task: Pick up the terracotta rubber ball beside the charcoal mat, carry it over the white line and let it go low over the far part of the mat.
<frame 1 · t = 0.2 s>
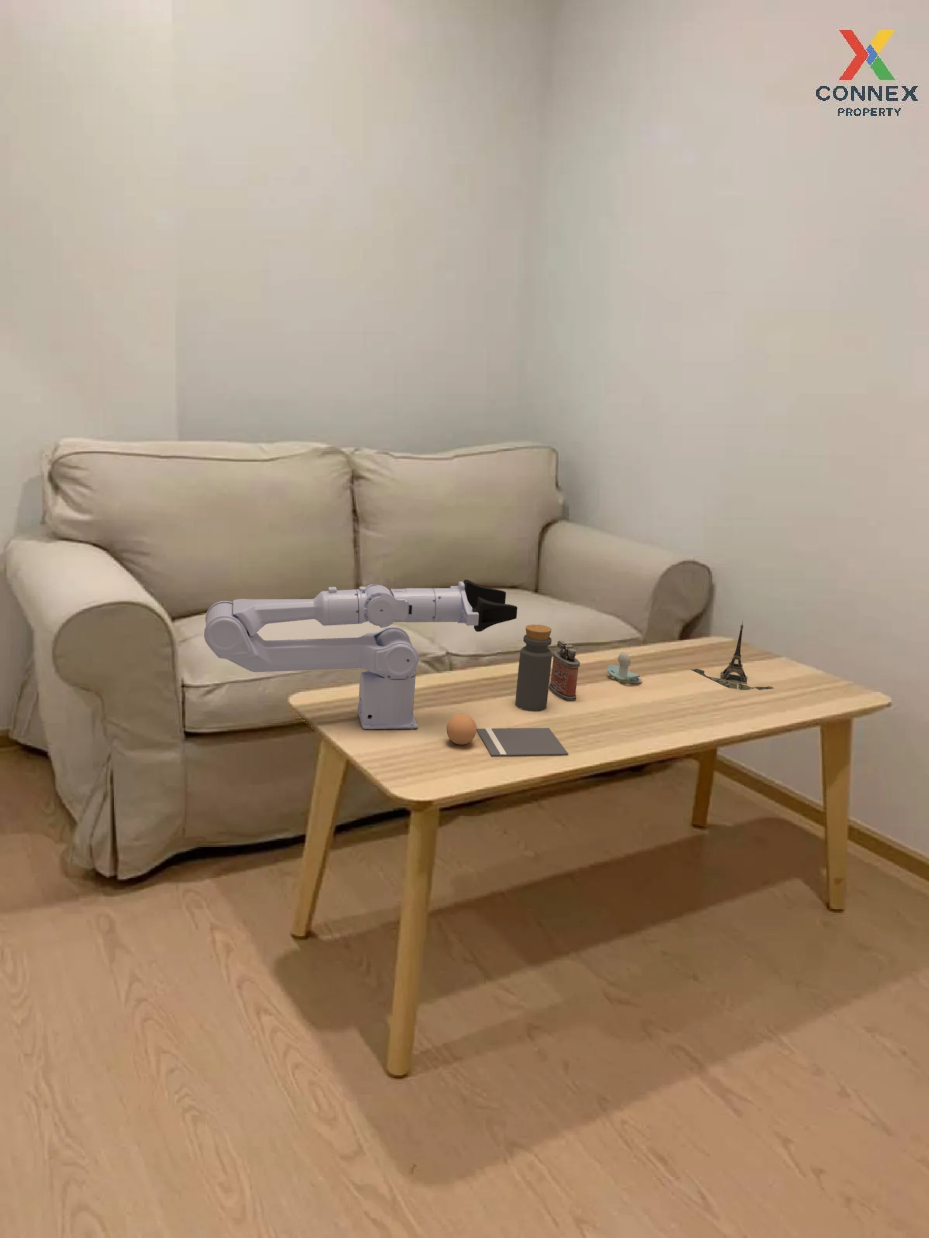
hand: (510, 604, 174), 21 cm above the table, tool horizontal, fingers open, 7 cm apart
eiffel tower figurine: (730, 681, 213), on the table
bottle: (530, 706, 188), on the table
ball: (460, 743, 168), on the table
pacifier: (625, 681, 207), on the table
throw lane: (521, 742, 171), on the table
lighter: (562, 695, 195), on the table
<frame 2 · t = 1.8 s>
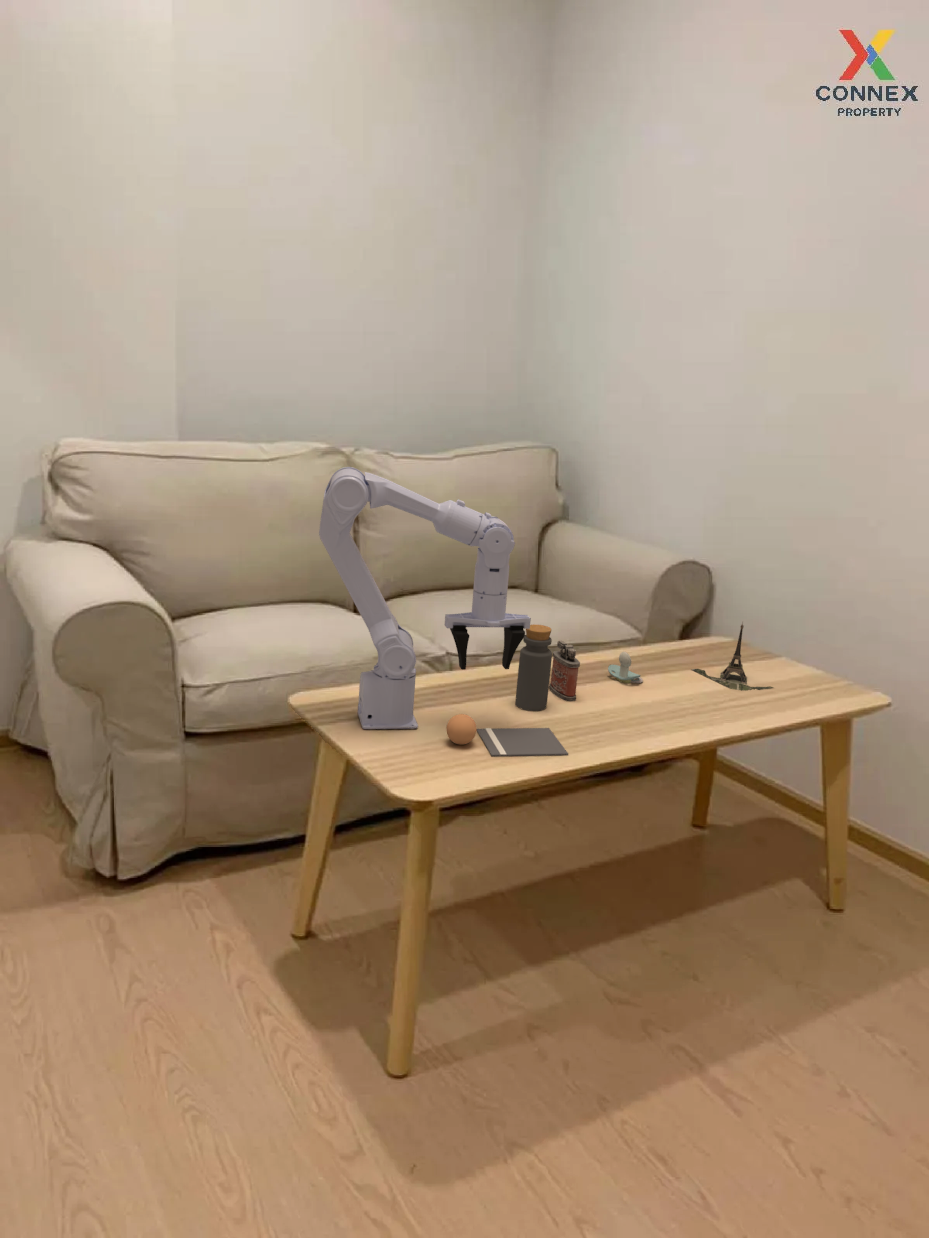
hand: (484, 667, 174), 10 cm above the table, tool pointing down, fingers open, 7 cm apart
nothing on the table moved.
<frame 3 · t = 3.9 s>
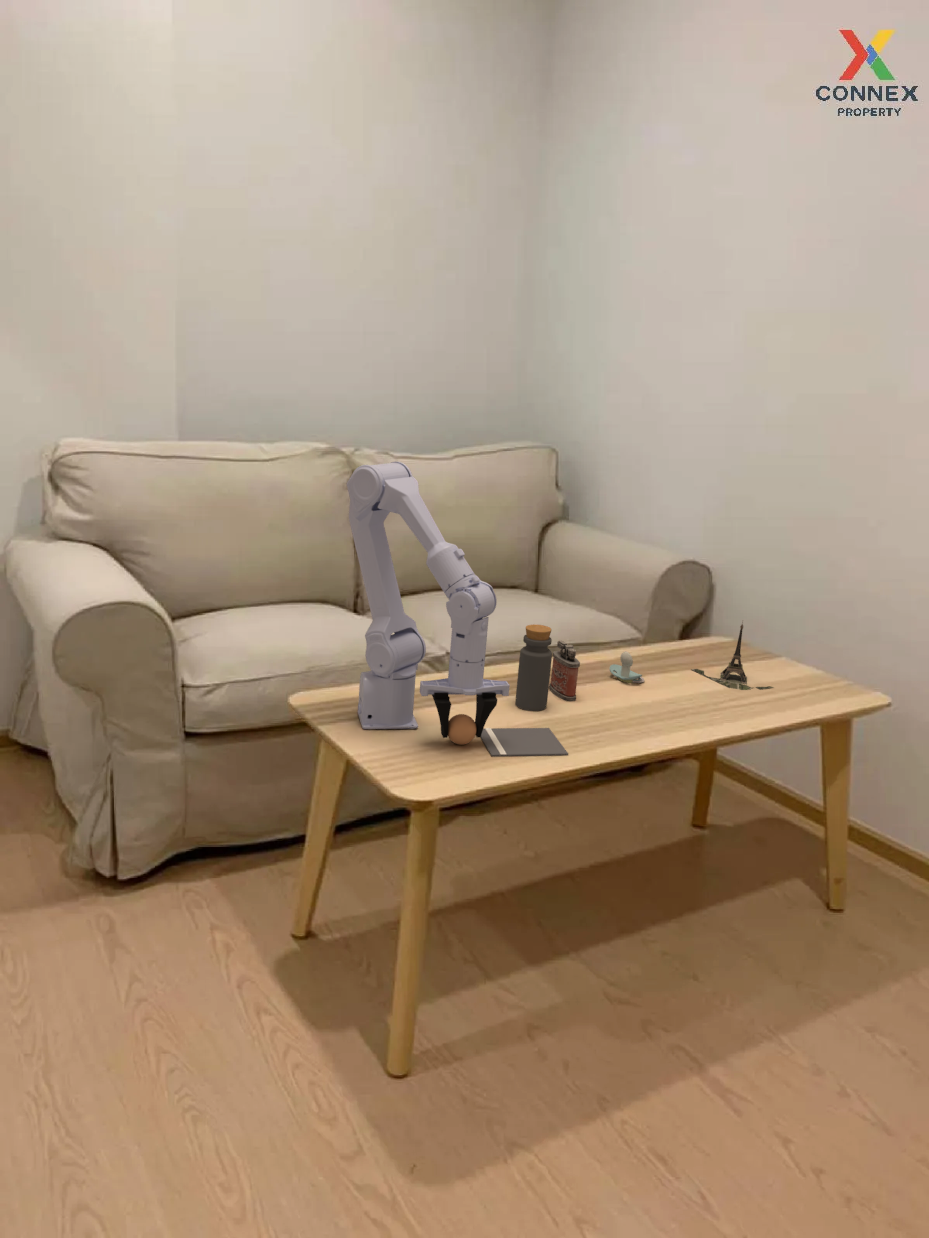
hand: (460, 735, 168), 1 cm above the table, tool pointing down, fingers closed on ball, 5 cm apart
ball: (460, 743, 168), on the table, touching gripper
everything else where it was.
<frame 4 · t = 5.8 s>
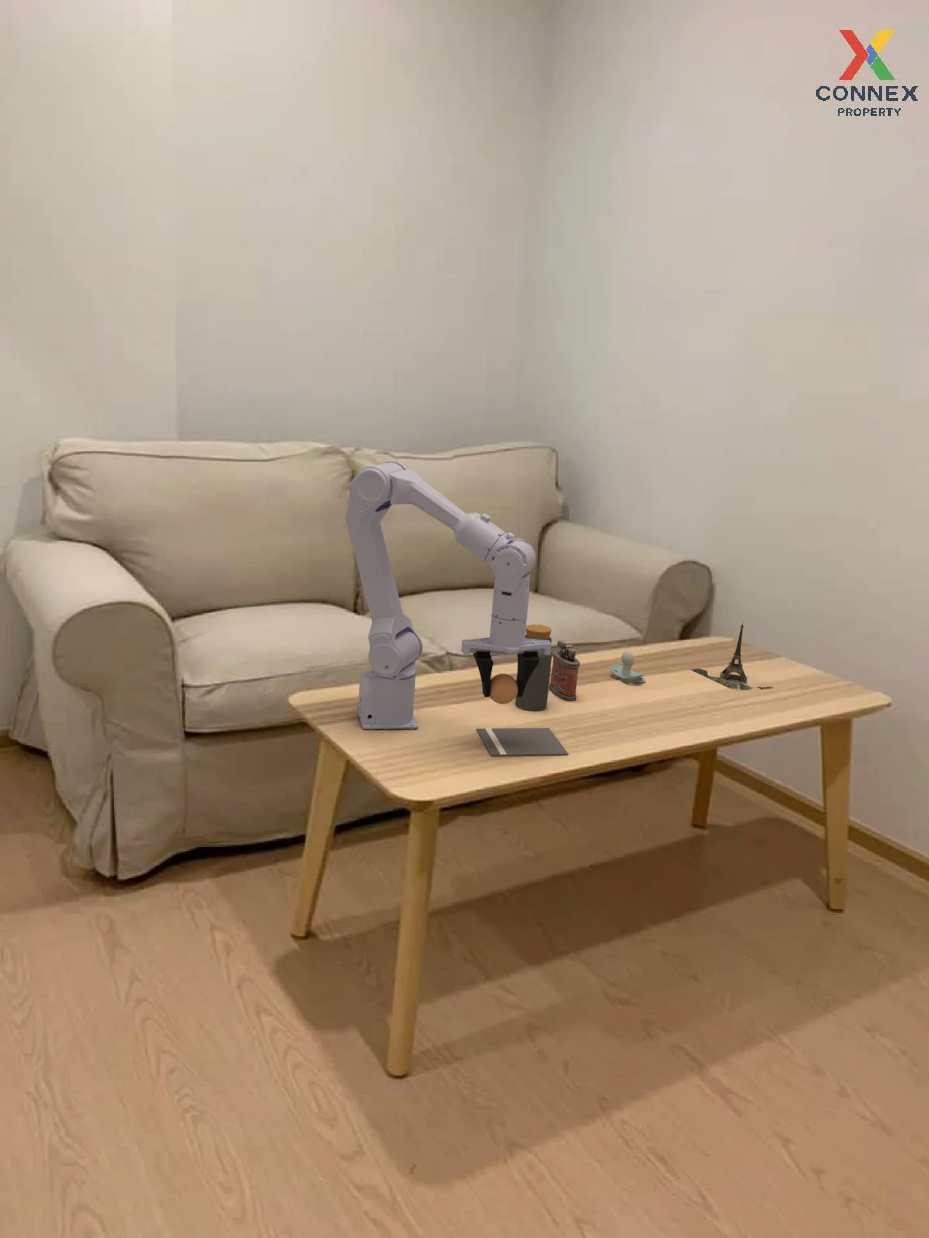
hand: (502, 695, 167), 9 cm above the table, tool pointing down, fingers closed on ball, 5 cm apart
ball: (501, 703, 168), point 7 cm above the table, touching gripper
everything else where it was.
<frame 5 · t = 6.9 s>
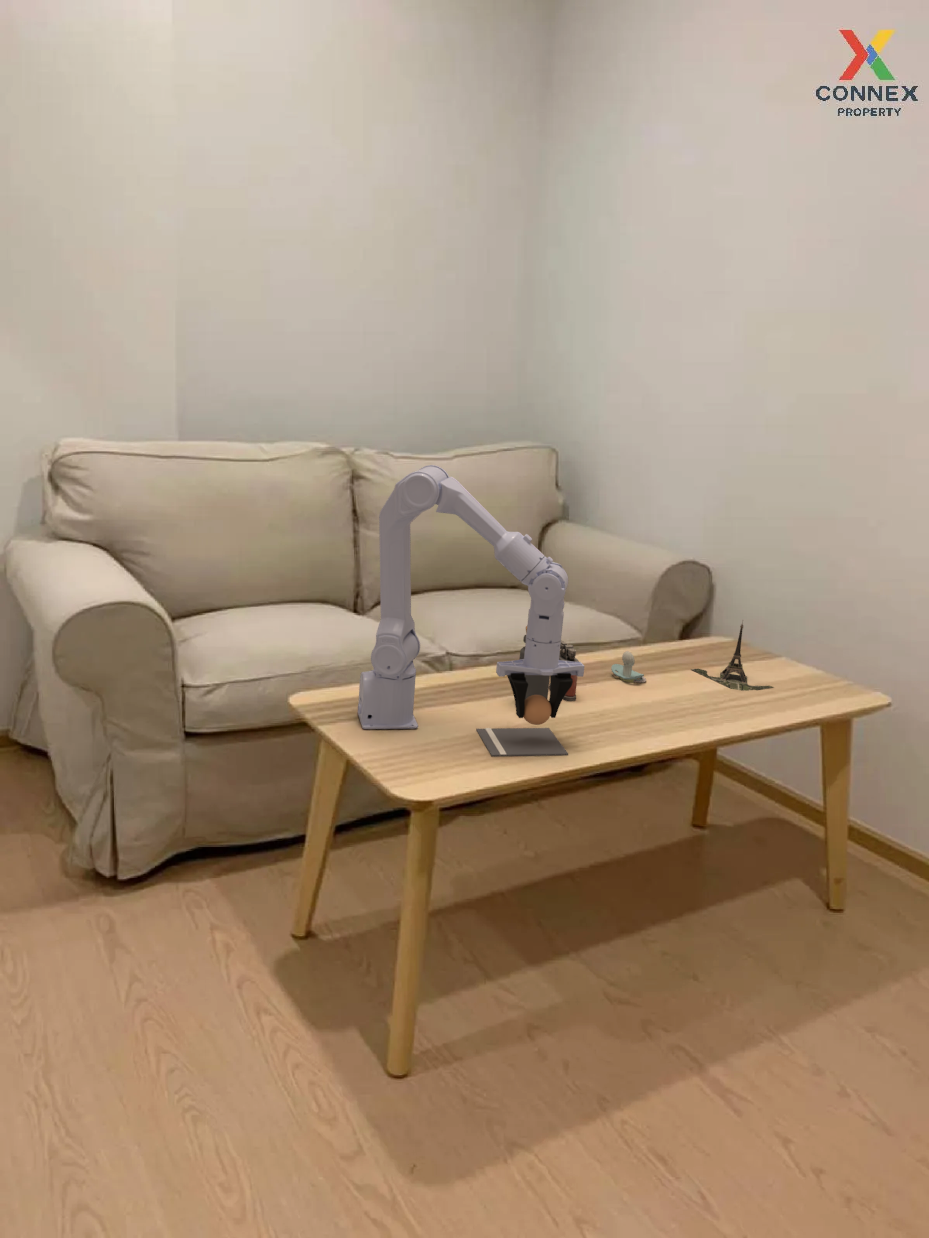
hand: (535, 715, 170), 5 cm above the table, tool pointing down, fingers closed on ball, 5 cm apart
ball: (535, 723, 170), point 3 cm above the table, touching gripper
when the fingers open (2 cm above the table, at t = 7.8 s): ball stays where it is, resting on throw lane.
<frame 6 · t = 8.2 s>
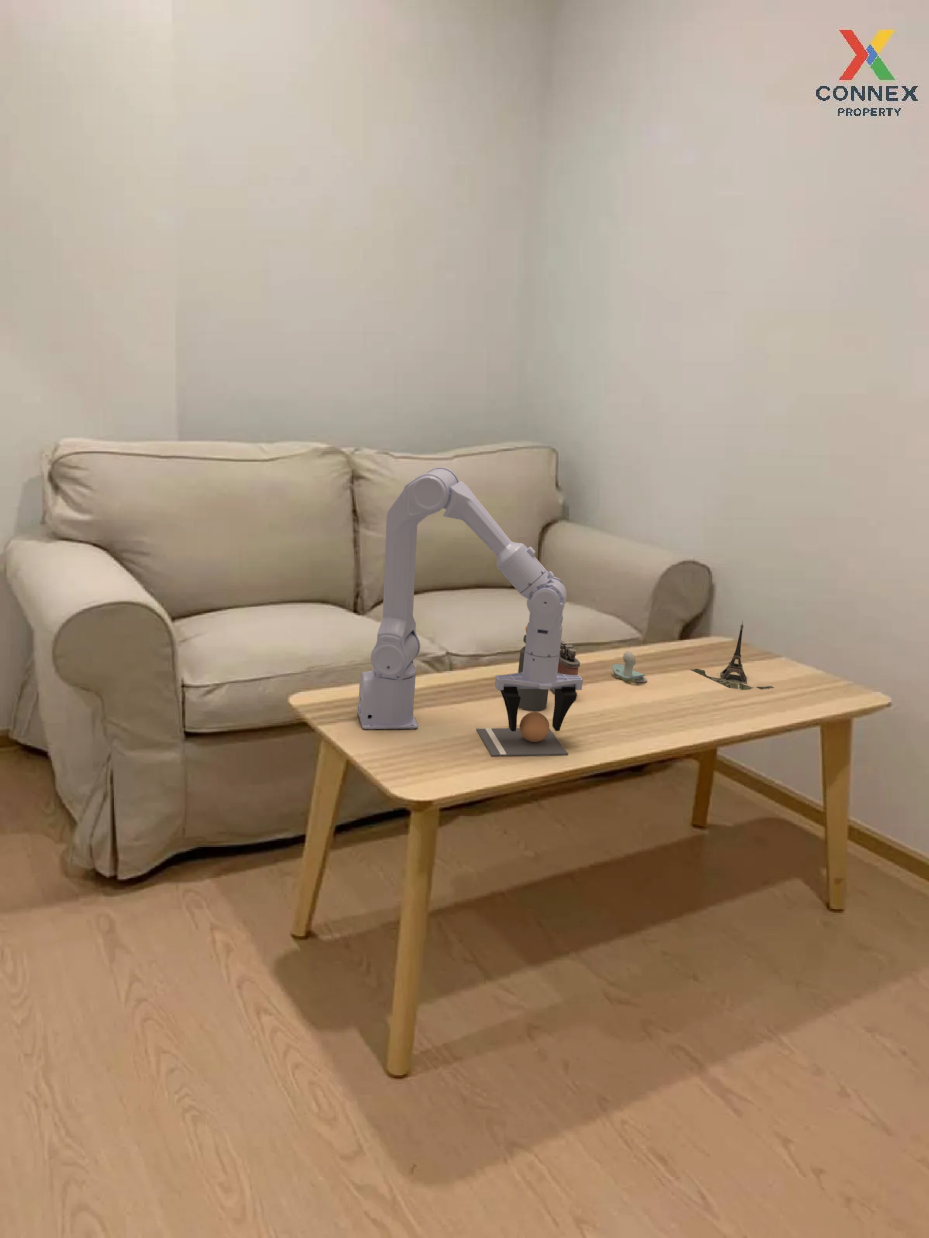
hand: (534, 728, 170), 2 cm above the table, tool pointing down, fingers open, 7 cm apart
ball: (533, 740, 171), resting on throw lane
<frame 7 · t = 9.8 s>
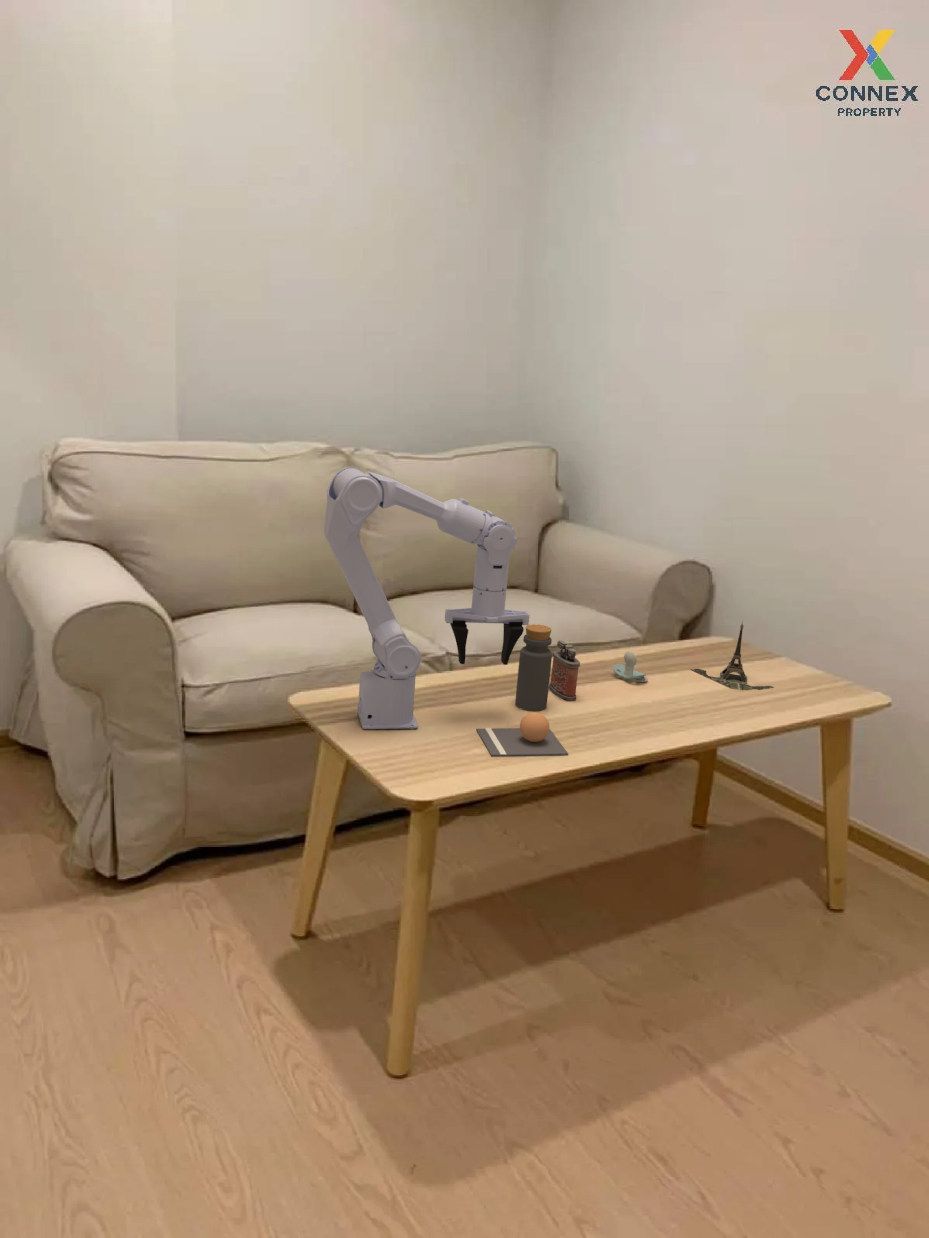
hand: (483, 662, 178), 10 cm above the table, tool pointing down, fingers open, 7 cm apart
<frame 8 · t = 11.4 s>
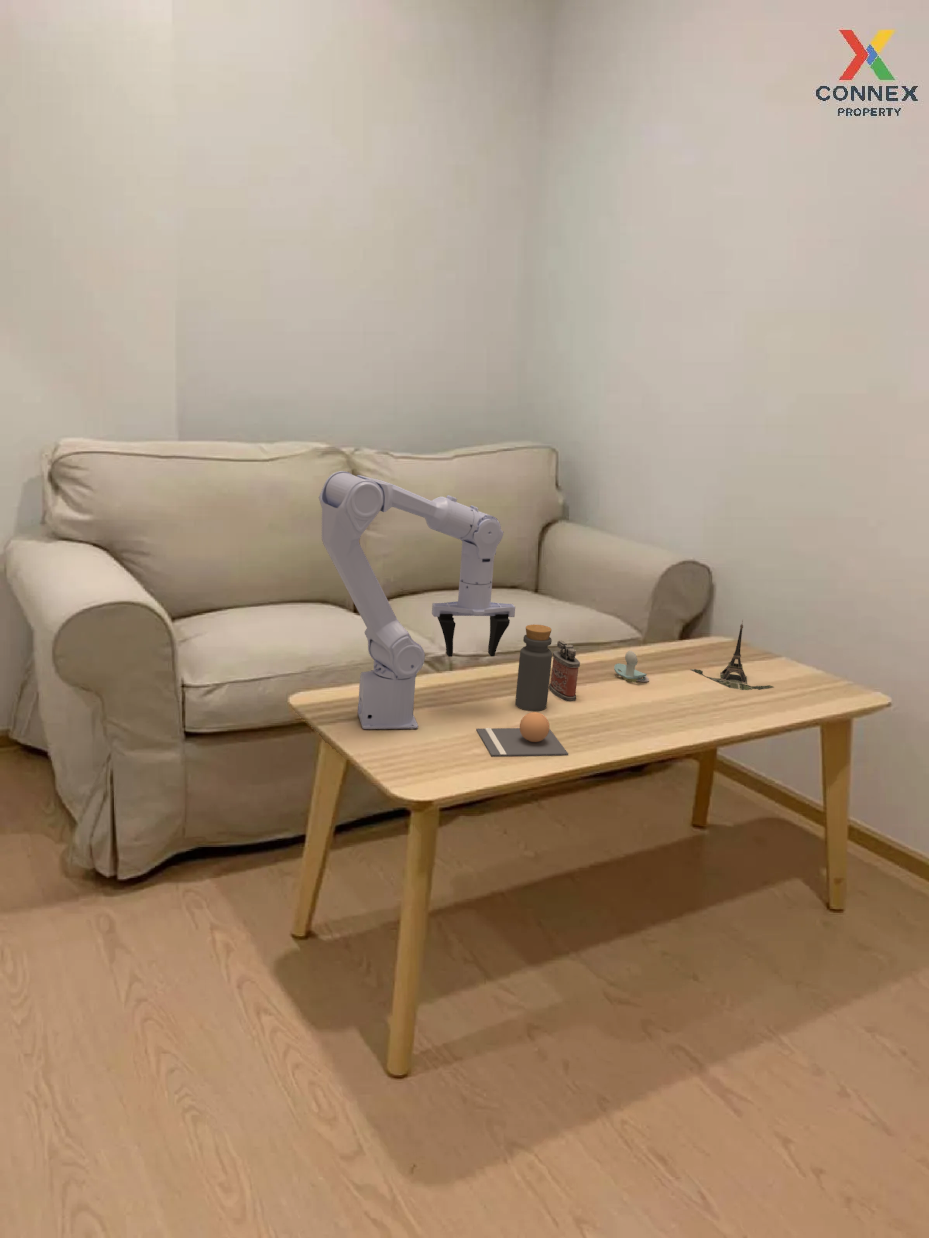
hand: (470, 654, 180), 10 cm above the table, tool pointing down, fingers open, 7 cm apart
at the end: ball inside the target area (1.0 cm from its centre), resting on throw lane; the gripper is holding nothing; ball moved 12.5 cm from its start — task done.
